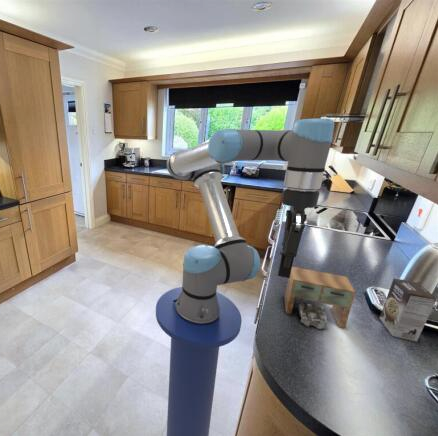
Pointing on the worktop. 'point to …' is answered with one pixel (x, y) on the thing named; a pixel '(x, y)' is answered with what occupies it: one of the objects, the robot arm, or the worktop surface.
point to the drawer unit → (321, 291)
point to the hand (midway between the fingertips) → (283, 275)
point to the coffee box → (406, 309)
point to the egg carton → (312, 314)
